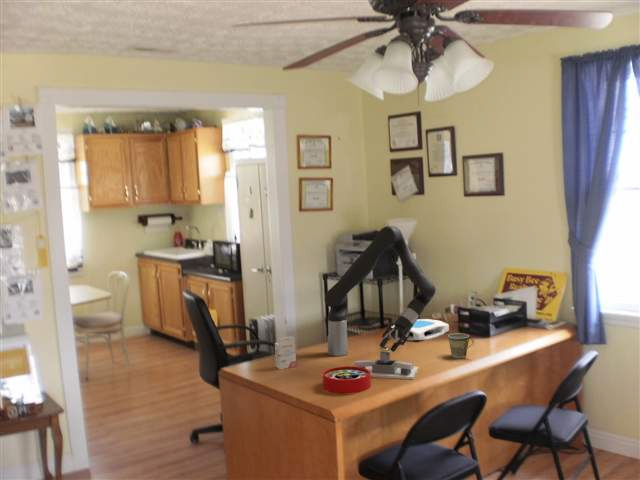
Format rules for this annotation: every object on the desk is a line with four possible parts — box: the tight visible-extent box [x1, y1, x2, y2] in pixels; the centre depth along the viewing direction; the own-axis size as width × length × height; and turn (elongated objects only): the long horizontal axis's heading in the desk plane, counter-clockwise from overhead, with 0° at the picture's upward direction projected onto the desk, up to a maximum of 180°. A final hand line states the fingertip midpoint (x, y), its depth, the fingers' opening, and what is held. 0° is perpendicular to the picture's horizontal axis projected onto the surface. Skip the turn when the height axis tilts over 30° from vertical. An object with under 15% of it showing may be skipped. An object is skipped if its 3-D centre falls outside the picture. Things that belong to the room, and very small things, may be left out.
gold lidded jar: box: [379, 346, 391, 365], centre depth 294 cm, size 4×4×10 cm
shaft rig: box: [354, 358, 419, 380], centre depth 294 cm, size 27×16×6 cm, turn 73°
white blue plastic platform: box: [390, 318, 450, 342], centre depth 365 cm, size 21×28×6 cm
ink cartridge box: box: [274, 335, 297, 370], centre depth 309 cm, size 9×5×15 cm, turn 118°
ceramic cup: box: [447, 333, 474, 359], centre depth 316 cm, size 13×10×10 cm
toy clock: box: [322, 365, 372, 395], centre depth 277 cm, size 20×6×20 cm
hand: (386, 348), depth 294 cm, fingers open, 8 cm apart
